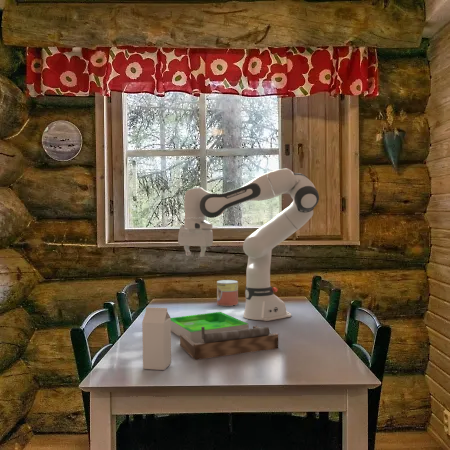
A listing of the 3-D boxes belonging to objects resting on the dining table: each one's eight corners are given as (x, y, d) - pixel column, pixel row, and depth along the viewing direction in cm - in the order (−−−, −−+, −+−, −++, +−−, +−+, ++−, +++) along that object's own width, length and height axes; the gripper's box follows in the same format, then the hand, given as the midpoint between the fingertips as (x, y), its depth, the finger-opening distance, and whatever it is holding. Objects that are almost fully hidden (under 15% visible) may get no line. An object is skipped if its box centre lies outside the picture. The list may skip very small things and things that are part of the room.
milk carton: (164, 370, 144) (163, 310, 144) (142, 369, 146) (141, 309, 145) (171, 363, 151) (170, 305, 151) (150, 362, 153) (150, 305, 152)
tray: (191, 345, 173) (191, 332, 173) (167, 330, 195) (167, 318, 195) (248, 336, 185) (248, 323, 185) (220, 322, 207) (220, 311, 207)
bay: (256, 335, 183) (256, 309, 183) (279, 348, 166) (278, 319, 166) (180, 345, 171) (179, 317, 171) (195, 360, 154) (195, 329, 154)
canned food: (213, 303, 248) (213, 280, 248) (232, 301, 253) (232, 279, 253) (222, 307, 238) (222, 283, 238) (241, 305, 243) (241, 282, 242)
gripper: (174, 224, 208) (175, 255, 208) (203, 225, 193) (204, 258, 193) (185, 224, 212) (186, 254, 212) (215, 224, 197) (215, 256, 197)
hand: (195, 256), depth 203 cm, fingers open, 8 cm apart
